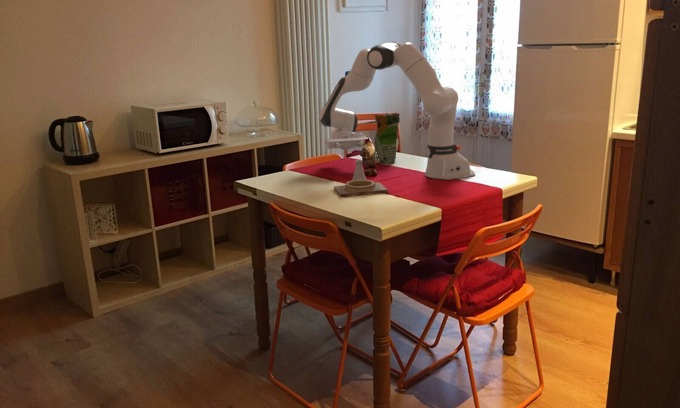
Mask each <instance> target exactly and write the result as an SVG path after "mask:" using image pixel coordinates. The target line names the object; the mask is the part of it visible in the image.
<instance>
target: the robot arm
mask: <svg viewBox="0 0 680 408" xmlns="http://www.w3.org/2000/svg"><path fill="white" fill-rule="evenodd" d="M395 66H398V67H399V68H400V69H401V70H402V71H403V74H405V76H406V77H407V78H408V80H409V82H411V84H412V85H413V86H414V88H415V90H416V92H417V94H418V96H419V99H420V100H421V102H422V106H423V109H424V111H425V112H426V114H428V115H431V116H430V121H429V125H428V132H427V133H428V135H427V136H428V139H427V141H428V143H427V147H426V148H427V149H426V155H427V162H426V163H427V164H426V169H425V173H424V176H425V177H427V178H431V179H440V180H445V181H447V180H455V179H461V178H468V177H473V176H475V175H476V172H475V171H474V170H473V169H471V165H470V162H469V160H468V159H467V158H465V157H464V156H463V155H462V154H460V153H459V152H458V151H461V149H462V146H461V145H457V144H454V132H455V131H454V128H455V120H456V116H457V115H456V114H457V105H458V102H459V93H457V91H456V90H455V89H454V88H451V87H448V86H442V84H441V82H440V80H439V78H438V76H437V72H436V70H435V69H434V68H433V66H432V64H430V62H429V61H428V59H427V58H426V57H425V55H424V54H423V53H422V52H421V51H420V49H418V47H416V46H415V45H414V44H413V43H411V42H403V43H402V44H401V43H399V42H397V41H389V42H382V43H379V44H377V45H373V46H372V47H371V48H362V49H361V50H360V51H359V52H358V53H357V55H356V57H355V59H354V61H353V64H352V66H351V70H350V71H349V73H347V75H346V76H343V77H341V78H340V79H339V81H338V82H337V83H336V85H335V87H334V89H333V90H332V92H331V94H330V96H329V98H328V99H327V101H326V103H325V105H324V106H323V107H322V109H321V111H320V114H319V122H320V123H321V124H322V125H323V127H325V128H327V127H328V128H333V129H332V131H331V134H330V135H331V138H327V139H326V140H325V141H324V144H325V145H326V148H327V149H328V150H329V149H330V150H332V149H340V150H342V151H348V150H350V149H353V148H362V147H365V146H364V144H365V140H366V139H368V138H369V136H366V135H364V134H363V133H362V132H356V130H357V128H358V121H359V120H358V117H357V114H356V113H355V112H354V111H351V110H348V109H342V108H339V107H336V106H337V104H338V103H339V101H340V99H341V98H342V96H343V95H346V94H348V93H352V92H354V93H355V92H361V91H364V90H366V89H368V88H369V87H370V86H371V84H372V82H373V80H374V77H375V74H376V71H377V70H381V71H382V70H384V69H390V68H393V67H395Z"/></svg>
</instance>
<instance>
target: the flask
mask: <svg viewBox="0 0 680 408" xmlns="http://www.w3.org/2000/svg"><path fill="white" fill-rule="evenodd" d="M354 162H355V169H354V173H353V177H352V180H368V179H367V177H366V175H365V172H364V169H363V160H362V159H357V160H355V161H354ZM352 180H351V181H352Z"/></svg>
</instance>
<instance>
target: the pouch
mask: <svg viewBox="0 0 680 408" xmlns="http://www.w3.org/2000/svg"><path fill="white" fill-rule="evenodd" d="M373 118H375V119H374V120H375V122H376V132H375V136H374V141H373V142H374V149H375V150H376V151H375V150H374V151H375V153H376V152H377V155H378V159H379V161H378V162H382V163H384V164H387V165H388V164H394V163H395V162H396V159H397V150H398V148H397V140H398V131H399V123H400V119H401V118H400V113H397V112H393V113H387V112H386V113H385V114H380V115H379V114H375V115H374V116H373Z"/></svg>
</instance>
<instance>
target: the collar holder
mask: <svg viewBox="0 0 680 408" xmlns="http://www.w3.org/2000/svg"><path fill="white" fill-rule="evenodd" d="M333 190H334V192H335V193H336V194H337V195H338V197H339V198H340V199H342V198H350V197H352V198H353V197H361V196H372V195H382V194H388V189H387V188H386V187H385V185H383V184H382V183H381V182H378V181H375V182H374V181H373V180H369V179H367V180H349V181H346V183H345V184H343V185H334V186H333Z"/></svg>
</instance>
